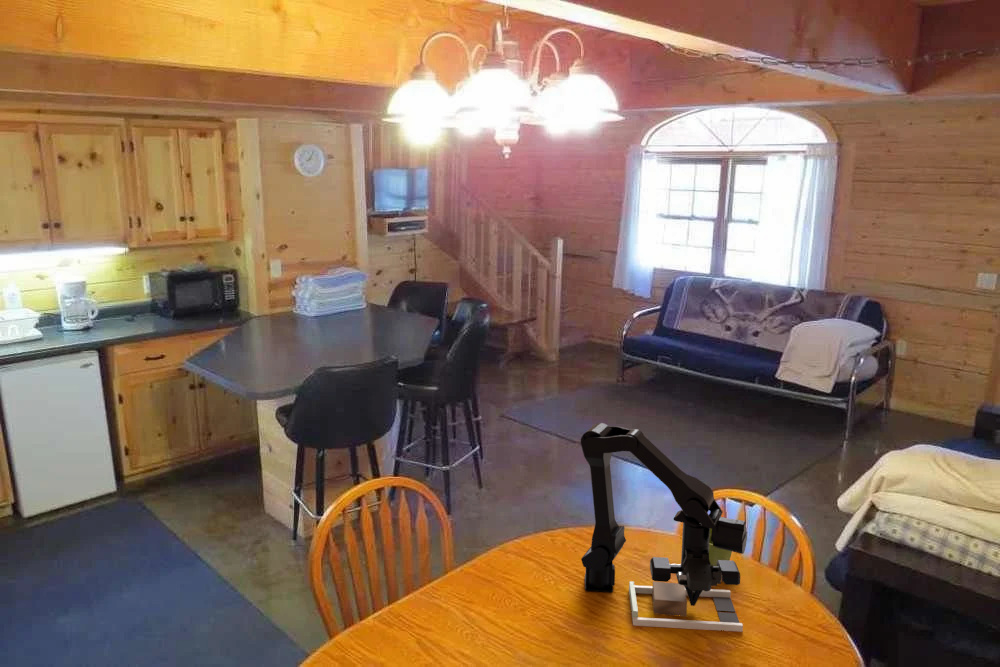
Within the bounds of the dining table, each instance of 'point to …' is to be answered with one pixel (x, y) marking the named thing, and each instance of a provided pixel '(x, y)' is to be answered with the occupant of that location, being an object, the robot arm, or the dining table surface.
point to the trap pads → (725, 609)
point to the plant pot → (717, 553)
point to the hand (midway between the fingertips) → (692, 604)
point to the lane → (674, 622)
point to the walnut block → (669, 599)
